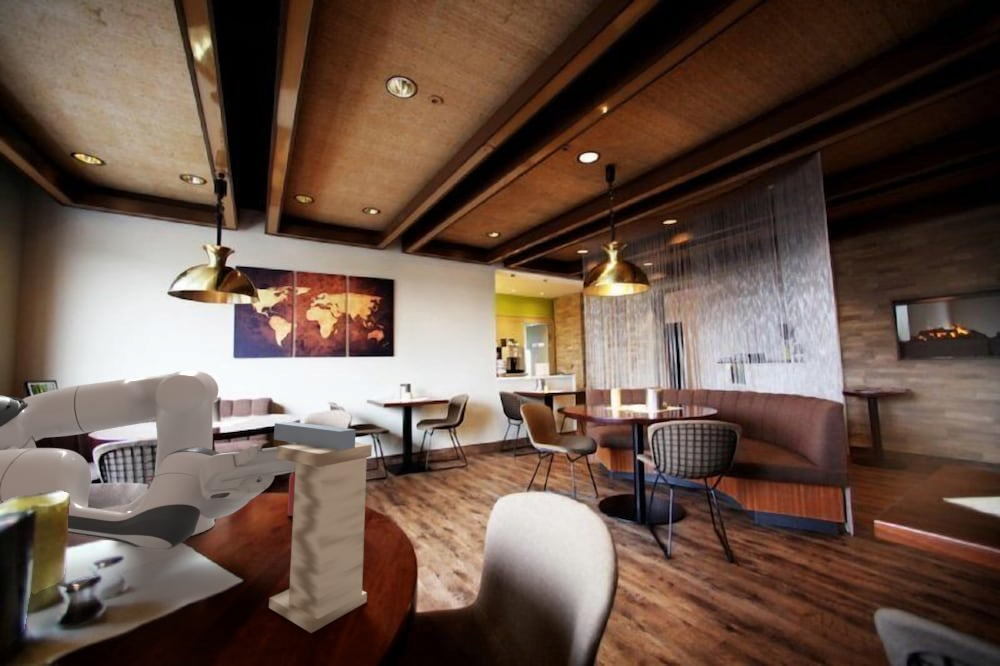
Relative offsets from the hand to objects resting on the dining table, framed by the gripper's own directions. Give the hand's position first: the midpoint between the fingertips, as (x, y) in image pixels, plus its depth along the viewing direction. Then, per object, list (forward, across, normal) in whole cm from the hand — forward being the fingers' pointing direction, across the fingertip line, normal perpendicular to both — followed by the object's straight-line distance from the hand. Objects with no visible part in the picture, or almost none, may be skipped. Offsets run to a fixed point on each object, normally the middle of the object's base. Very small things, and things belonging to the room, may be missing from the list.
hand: (283, 445), depth 77 cm
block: (+8, 0, -3) cm, 9 cm away
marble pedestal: (-1, -1, -28) cm, 28 cm away
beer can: (-40, -24, -5) cm, 47 cm away
